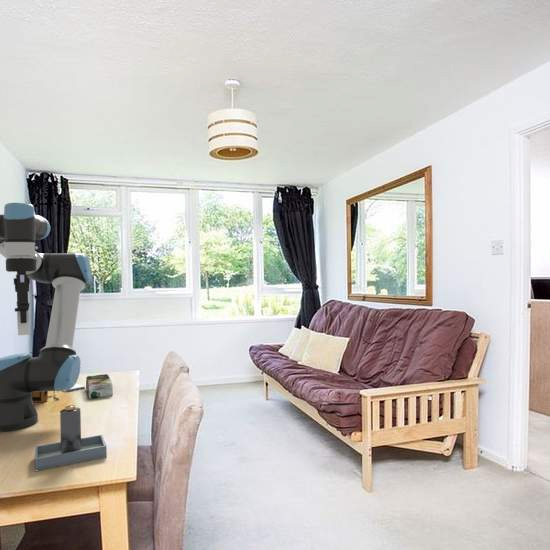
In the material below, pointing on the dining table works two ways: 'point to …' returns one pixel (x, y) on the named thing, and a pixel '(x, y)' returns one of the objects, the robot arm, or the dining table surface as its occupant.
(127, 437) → the dining table surface
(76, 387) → the external hard drive
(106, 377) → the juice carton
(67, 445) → the cell
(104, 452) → the trough
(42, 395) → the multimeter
